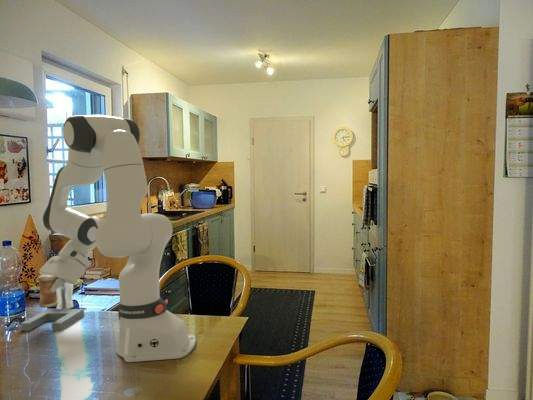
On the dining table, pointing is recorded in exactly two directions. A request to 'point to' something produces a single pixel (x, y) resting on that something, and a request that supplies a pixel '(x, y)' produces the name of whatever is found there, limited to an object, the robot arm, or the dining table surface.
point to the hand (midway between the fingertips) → (45, 290)
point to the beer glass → (65, 296)
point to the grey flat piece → (54, 318)
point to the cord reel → (47, 291)
